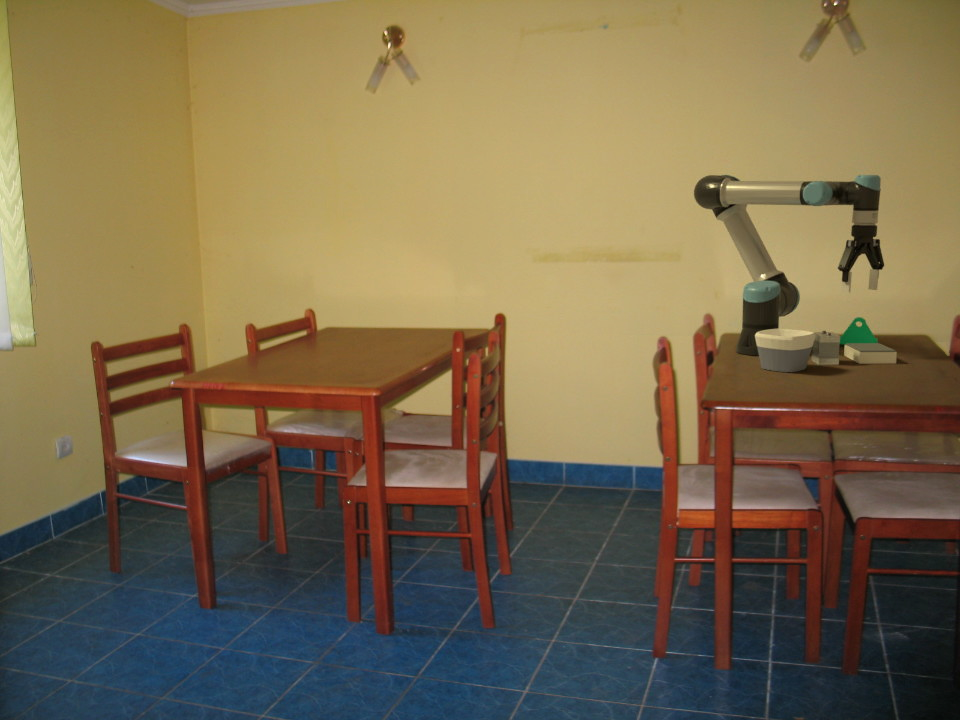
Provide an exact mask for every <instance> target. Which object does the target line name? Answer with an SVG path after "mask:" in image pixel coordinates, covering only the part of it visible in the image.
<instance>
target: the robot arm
mask: <svg viewBox="0 0 960 720" xmlns="http://www.w3.org/2000/svg"><path fill="white" fill-rule="evenodd" d="M881 181H882V180H881V177H880V176H879V175H877V174H858V175H856V176H855V177H854V180H852V181H835V180H833V181H831V180H830V181H829V180H827V181H825V180H824V181H823V180H814V181H813V180H810V181H809V180H808V181H803V180H801V181H800V180H799V181H798V180H797V181H795V180H794V181H793V180H792V181H791V180H782V181H781V180H780V181H779V180H776V181H775V180H740V179H739V178H737V177H735V176H732V175H730V174H722V175H717V174H715V175H713V174H710V175H709V174H708V175H706V176H705V175H704V177H702V178H700V179H699V180H698V181H697V182H696V185H695V186H694V189H693V196H694V200H695V202H696V203H697V204H698V206H700V207H701V208H703V209H705V210H712V212H713V215H714V216H715V219H716V220H717V221H721V222H723V224H724V225H725V228H726V230H727V232H728V234H729V236H730V238H731V240H732V242H733V244H734V245H735V247H736V249H737V251H738V253H739V255H740V257H741V260H742V261H743V264H744V265H745V268H746V269H747V271H748V273H749V275H750V276H751V278H752V281H751V282H748V283H746V284H745V286H744V287H743V292H742V318H741V319H742V321H741V322H742V323H741V325H742V326H741V330H740V334H739V337H738V340H737V342H736V345H735V352H736V354H741V355H746V356H758V357H759V353H758V348H757V344H756V339H755V334H756V333H757V332H759V331H763V330H770V329H780V328H779V326H780V317H786V316H787V315H789V314H792V313H793V312H794V311H795V310H796V309H797V308H798V305H799V303H800V301H801V300H800V299H801V297H800V296H801V294H800V291H799V289H798V287H797V286H796V285H795V284H794V283H792V282H790V281H789V280H788V278H787V276H786V275H785V273H784V271H781V270H778V269H777V267H776V265H775V263H774V261H773V259H772V257H771V256H770V254H769V253H770V252H769V251H768V250H767V248H766V246H765V244H764V242H763V239H762V238H761V236H760V234H759V232H758V230H757V229H756V226H755V225H754V222H753V221H752V219H751V216H750V215H749V213H748V211H747V207H748V205H761V206H762V205H763V206H767V205H769V206H811V207H822V206H852V209H853V210H852V219H851V223H852V224H853V225H851V230H850V231H851V232H850V233H851V234H850V235H851V237H853V239H847V240H846V242H845V247H844V251H843V253H842V256H841V258H840V261H839V263H838V266H837V270H839V272H842V274H841V275H842V277H841V293H851V287H852V275H853V272H852V271H851V270H852V268H853V267H854V265H855V263H856V262H857V259H858V258H859V256H862V255H865V257H866V259H867V261H868V263H869V265H870V267H871V268H870V269H869V274H868V277H869V278H868V287H867V288H868V290H872V291H877V290H878V285H879V284H878V283H879V275H880V270H881V271H882V270H883V269H884V267H885V262H884V258H883V253H882V249H881V240H880V238H876V237H877V235H878V225H876V224H878V221H879V220H878V219H879V208H880V207H879V206H880V199H881V197H880V196H881V190H882V189H881Z"/></svg>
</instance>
